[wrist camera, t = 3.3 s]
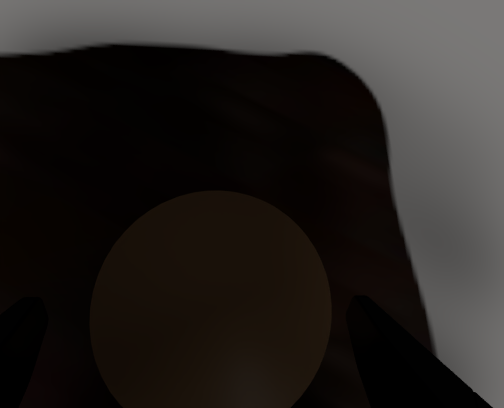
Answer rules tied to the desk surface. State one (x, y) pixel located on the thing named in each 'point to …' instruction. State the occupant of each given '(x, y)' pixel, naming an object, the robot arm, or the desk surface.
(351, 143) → the desk surface
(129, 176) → the desk surface
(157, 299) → the brown waisted peg
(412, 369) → the robot arm
